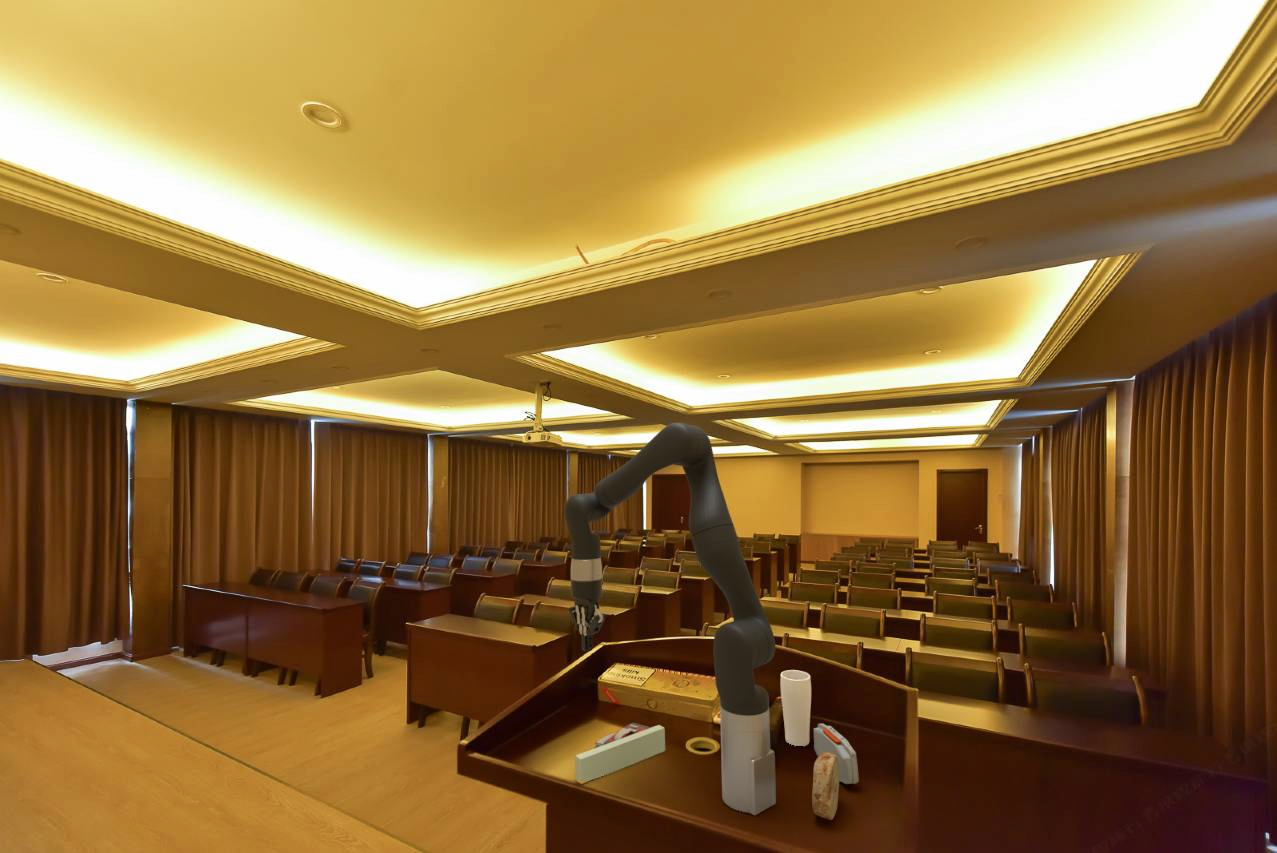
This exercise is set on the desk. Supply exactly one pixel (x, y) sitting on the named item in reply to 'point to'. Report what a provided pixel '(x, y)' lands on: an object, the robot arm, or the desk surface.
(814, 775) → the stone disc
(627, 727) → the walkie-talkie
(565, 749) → the desk surface
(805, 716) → the drinking glass
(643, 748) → the bar
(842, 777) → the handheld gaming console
